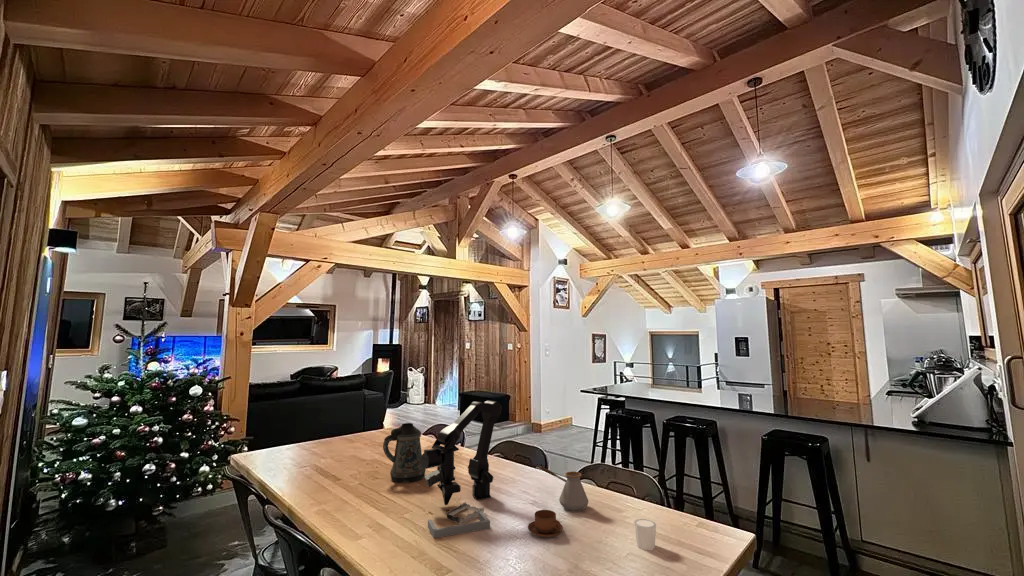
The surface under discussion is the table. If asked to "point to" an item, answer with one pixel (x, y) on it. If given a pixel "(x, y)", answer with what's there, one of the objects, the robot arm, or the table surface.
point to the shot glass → (645, 534)
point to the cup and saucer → (545, 524)
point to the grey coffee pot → (571, 491)
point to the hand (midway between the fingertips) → (446, 504)
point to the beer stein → (405, 454)
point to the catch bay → (459, 527)
